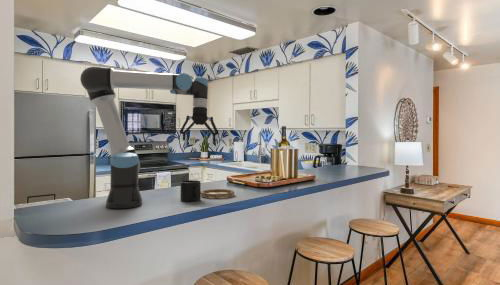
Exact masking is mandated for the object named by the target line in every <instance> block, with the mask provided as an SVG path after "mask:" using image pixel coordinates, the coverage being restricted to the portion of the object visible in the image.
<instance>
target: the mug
mask: <svg viewBox="0 0 500 285" xmlns="http://www.w3.org/2000/svg"><path fill="white" fill-rule="evenodd" d="M201 185H202V184H201V181H200V180H194V179H193V180H192V179H191V180H189V179H188V180H187V179H186V180H181V181H180V201H181V202H184V203H195V202H196V203H197V202H199V201H200V200H201V198H202V197H201V191H202V190H201Z"/></svg>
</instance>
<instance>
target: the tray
mask: <svg viewBox="0 0 500 285" xmlns="http://www.w3.org/2000/svg"><path fill="white" fill-rule="evenodd" d="M234 195H235V190H234V189H233V190H232V189H227V188H226V189H224V188H212V189H204V190H201V198H203V199H210V200H211V199H214V200H215V199H217V200H218V199H220V200H221V199H230V198H233V197H234Z"/></svg>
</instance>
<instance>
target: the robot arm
mask: <svg viewBox="0 0 500 285" xmlns="http://www.w3.org/2000/svg"><path fill="white" fill-rule="evenodd" d="M80 83H81V86H82V87H83V88H84V89H85V90H86V92H87V94H88V98H89V100H90V102H91V103H93V104H94V105H95V107H96V110H97V112H98V116H99V118H100V121H101V124H102V127H103V130H104V133H105V135H106V138H107V141H108V145H109V147H110V150H111V153H110V156H109V157H110V160H109V163H110V189H109V192H108V195H107V198H106V200H105V207H106V208H108V209H109V208H110V209H128V208H129V209H130V208H135V207H136V208H137V207H140V206H142V205H143V198H142V195H141V192H140V189H139V172H140V170H141V161H140V158H139V155H138V154H137V152H136V149H135V148H134V147H132V146H131V144H130V142H129V139H128V136H127V133H126V131H125V128H124V124H123V122H122V119H121V117H120V113H119V110H118V107H117V104H116V101H115V98H116V97H117V95H116V92H115V89H117V88H118V89H119V88H120V89H143V90H160V91H161V90H162V91H163V90H164V91H166V90H167V91H169V92H170V94H173V95H182V96H192V98H193V99H192V101H193V102H192V106H193V107H192V116H190V115H186V118H185V121H184V123H183V124H182V126H181V128H180V130H179V134H182V141H184V148H187V142H188V135H187V132H189V131H190V129H192V127H193V126H195V125H196V126H203V125H204V126H205V128H206V129H207V130H208V131H209V132H210V134H211V136H210V149H211V148H212V149H213V148H214V143H215V141H216V136H217V135H219V131H218V128H217V126H216V124H215V122H214V118H213V116H209V117H208V96H209V94H208V93H209V81H208V79H207V78H206V77H204V76H196V77H195V76H194V78H193V79H192V76H191V75H190V74H188V73H186V72H181V73H179V74H177V73H174V74H173V73H159V72H144V71H130V70H129V71H128V70H115V69H114V67H105V66H103V67H102V66H89V67H87V68H85V69H84V70H83V71H82V72H81V74H80ZM190 120H192V123H191V124H189V126H188V127H186V126H187V124H188V121H190ZM208 121H209V122H210V124H211V126H212V128H213V129H212V128H211V127H210V125H209V123H207V122H208ZM185 127H186V129H185ZM184 129H185V130H184Z"/></svg>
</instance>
